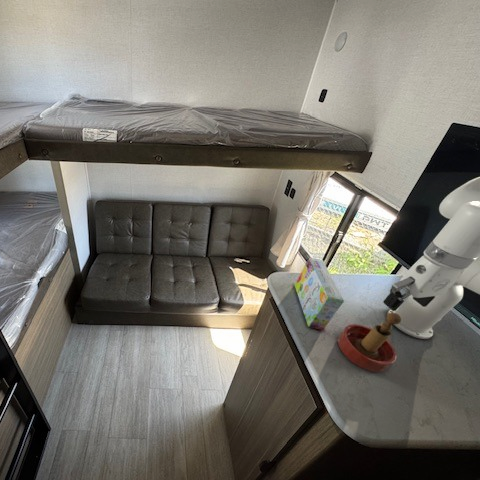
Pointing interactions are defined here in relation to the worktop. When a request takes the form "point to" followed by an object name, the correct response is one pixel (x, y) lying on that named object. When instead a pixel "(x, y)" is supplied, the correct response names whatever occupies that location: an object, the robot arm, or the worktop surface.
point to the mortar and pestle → (376, 337)
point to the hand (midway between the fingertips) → (403, 304)
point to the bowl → (345, 344)
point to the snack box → (317, 294)
